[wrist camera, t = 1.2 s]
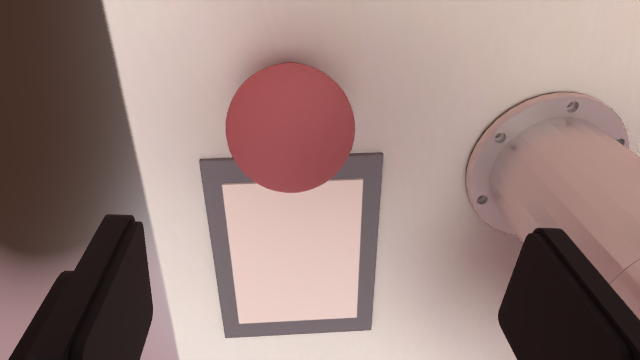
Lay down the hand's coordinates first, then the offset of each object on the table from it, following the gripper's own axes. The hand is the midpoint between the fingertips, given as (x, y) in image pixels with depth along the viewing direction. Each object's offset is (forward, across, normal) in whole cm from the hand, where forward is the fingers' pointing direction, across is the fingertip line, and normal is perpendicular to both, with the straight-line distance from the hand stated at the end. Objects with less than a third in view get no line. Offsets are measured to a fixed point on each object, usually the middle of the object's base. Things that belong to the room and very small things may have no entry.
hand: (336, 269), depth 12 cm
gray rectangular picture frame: (+24, -1, +19) cm, 31 cm away
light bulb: (+24, +1, +3) cm, 25 cm away
